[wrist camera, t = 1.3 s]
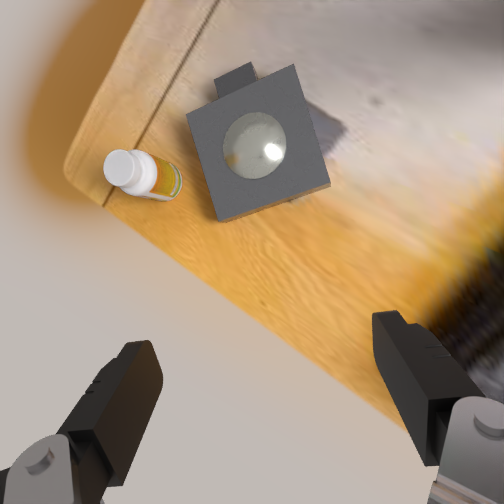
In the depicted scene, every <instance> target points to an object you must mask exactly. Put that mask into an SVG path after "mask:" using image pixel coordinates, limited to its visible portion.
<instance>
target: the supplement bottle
mask: <svg viewBox="0 0 504 504" xmlns="http://www.w3.org/2000/svg"><path fill="white" fill-rule="evenodd" d="M103 170H104V175H105V177H106V179H107V180H108V181H109V182H110V183H111V184H112V185H115V186H118V187H120V188H121V190H122V191H124V192H125V193H127V194H129V195H133V196H137V197H143V198H148V199H153V200H158V201H170V200H172V199H174V198H175V197H176V196H177V195H178V194H179V192H180V190H181V187H182V176H181V173H180V171H179V170H178V168H177V167H176V166H174V165H173V164H171V163H169V162H167V161H164V160H162V159H160V158H158V157H155V156H153V155H151V154H148V153H146V152H144V151H141V150H129V151H125V150H122V149H117V150H114V151H112V152H110V153H109V154H108V156H107V157H106V159H105V161H104V167H103Z"/></svg>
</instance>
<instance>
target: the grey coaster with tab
mask: <svg viewBox="0 0 504 504" xmlns="http://www.w3.org/2000/svg"><path fill="white" fill-rule="evenodd" d="M214 82H215V86H216V89H217V92H218V95H219V99H218V100H216V101H213V102H211V103H209V104H207V105H205V106H203V107H201V108H199V109H197V110H194V111H192V112H190V113H188V114H186V116H187V120H188V123H189V126H190V129H191V133H192V136H193V139H194V143H195V146H196V149H197V152H198V156H199V159H200V162H201V166H202V169H203V172H204V175H205V179H206V182H207V185H208V189H209V192H210V195H211V198H212V202H213V205H214V208H215V212H216V215H217V218H218V221H219V222H226V223H227V222H230V221H233V220H236V219H238V218H241V217H244V216H247V215H250V214H253V213H256V212H259V211H261V210H264V209H267V208H270V207H273V206H276V205H279V204H282V203H285V202H287V201H290V200H293V199H296V198H299V197H302V196H305V195H308V194H310V193H313V192H316V191H319V190H322V189H325V188H328V187H331V182H330V178H329V175H328V172H327V169H326V166H325V162H324V159H323V156H322V153H321V150H320V146H319V143H318V140H317V137H316V134H315V130H314V127H313V124H312V121H311V118H310V114H309V111H308V108H307V105H306V102H305V98H304V95H303V92H302V89H301V86H300V82H299V79H298V76H297V73H296V70H295V66H294V64H292V65H290V66H288V67H286V68H283V69H281V70H279V71H277V72H275V73H273V74H271V75H269V76H266V77H264V78H262V79H260V80H258V78H257V74H256V71H255V69H254V67H253V65H252V62H249V63H247V64H245V65H243V66H241V67H239V68H237V69H235V70H233V71H231V72H229V73H227V74H225V75H223V76H221V77H219V78H216V79H214Z"/></svg>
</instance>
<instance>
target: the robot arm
mask: <svg viewBox="0 0 504 504" xmlns="http://www.w3.org/2000/svg"><path fill="white" fill-rule="evenodd" d="M372 332H373V352H374V358H375V361H376V365H377V367H378V369H379V372H380V374H381V376H382V378H383V380H384V382H385V384H386V386H387V388H388V390H389V392H390V395H391V397H392V399H393V401H394V403H395V405H396V407H397V409H398V411H399V413H400V415H401V417H402V420H403V422H404V424H405V426H406V428H407V430H408V432H409V434H410V436H411V438H412V440H413V443H414V444H415V447H416V449H417V451H418V453H419V455H420V457H421V459H422V461H423V463H424V465H425V466H439V470H438V474H437V478H436V481H433V484H432V487H431V490H430V494H429V498H428V502H427V504H504V404H502V403H500V402H497V401H495V400H492V399H488V398H486V396H485V395H484V394H483V393H482V392H481V391H480V389H479V388H478V387H477V386H476V385H475V383H474V382H473V381H472V380H471V379H470V377H469V376H468V375H467V374H466V373H465V371H464V370H463V369H462V368H461V367H460V365H459V364H458V363H457V362H456V361H455V359H454V358H453V357H451V356H450V354H449V352H448V351H447V350H446V349H445V348H444V347H442V344H441V343H440V342H439V340H438V339H437V338H436V337H435V336H434V334H433V333H432V332H430V331H429V330H427V329H425V328H424V327H422V326H421V325H419V324H417V323H415V324H407V323H406V321H405V320H404V319H403V317H402V316H401V315H400V313H399V312H398V311H397V310H393V311H385V312H376V313H373V314H372ZM162 386H163V374H162V370H161V367H160V365H159V362H158V360H157V357H156V354H155V351H154V348H153V346H152V343H151V342H150V341H149V340H144V341H135V342H128V343H126V344H125V346H124V347H123V349H122V350H121V352H120V353H119V355H118V356H117V358H113V359H112V360H111V361H110V362H109V363H108V364H106V365H105V366H104V367H103V368H102V369H101V370H100V371H99V373H98V374H97V376H96V377H95V379H94V380H93V383H92V384H90V386H89V387H88V389H87V390H86V391H85V394H84V395H83V396H82V397H81V399H80V400H79V401H78V403H77V404H76V406H75V407H74V409H73V410H72V412H71V413H70V414H69V416H68V417H67V419H66V420H65V422H64V423H63V425H62V426H61V427H60V429H59V430H58V432H57V433H56V434H55V435H51V436H48V437H45V438H43V439H41V440H39V441H37V442H36V443H34V444H33V445H32V446H30V447H29V448H28V449H26V450H25V451H24V452H23V453H22V454H21V455H20V456H19V457H18V458H17V459H16V461H15V462H14V463H13V465H12V466H11V467H10V468H7V469H5V470H2V471H0V504H104V501H103V499H102V496H103V494H104V492H105V490H106V488H107V487H115V486H123V483H124V481H125V479H126V476H127V474H128V471H129V469H130V466H131V464H132V462H133V459H134V457H135V454H136V452H137V449H138V447H139V444H140V441H141V439H142V437H143V434H144V432H145V430H146V427H147V424H148V422H149V420H150V417H151V415H152V412H153V410H154V407H155V405H156V402H157V400H158V397H159V395H160V393H161V390H162Z"/></svg>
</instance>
